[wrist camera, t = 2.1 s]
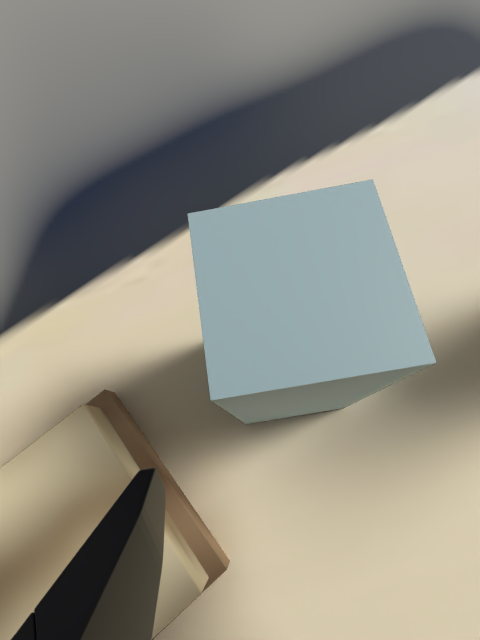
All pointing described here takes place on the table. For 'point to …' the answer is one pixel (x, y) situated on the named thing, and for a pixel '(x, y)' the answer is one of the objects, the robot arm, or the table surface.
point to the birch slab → (74, 517)
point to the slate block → (303, 303)
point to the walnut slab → (175, 498)
